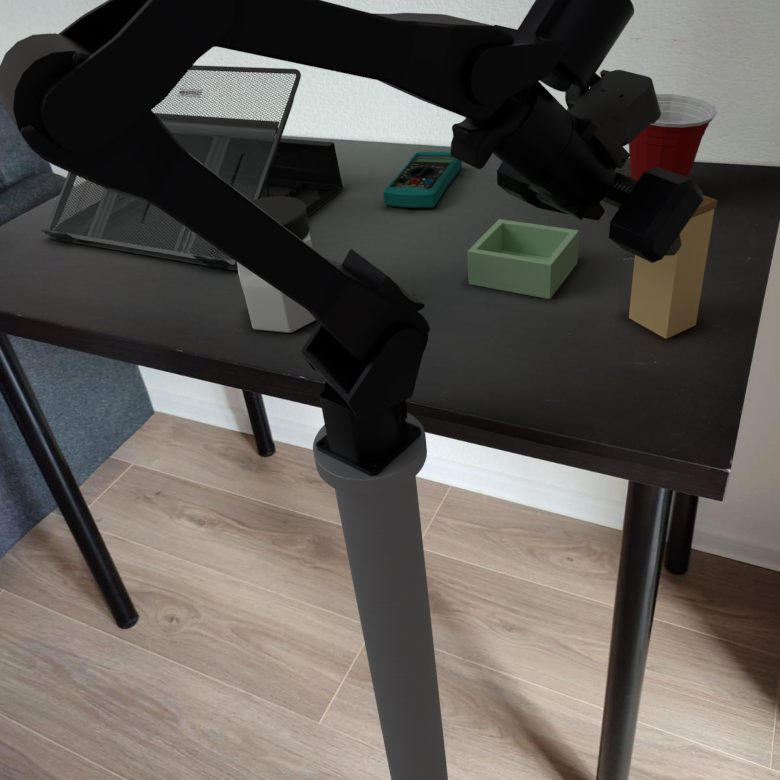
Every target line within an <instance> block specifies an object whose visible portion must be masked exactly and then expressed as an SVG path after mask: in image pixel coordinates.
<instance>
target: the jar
mask: <svg viewBox="0 0 780 780" xmlns="http://www.w3.org/2000/svg"><path fill="white" fill-rule="evenodd" d="M295 198H296V197H294V198H292V197H285V195H284V196H283V195H282V196H280V195H278V196H277V195H273V197H272V196H271V197H267V196H264V198H262V197H261V198H259V199H255V200H252V202H253V203H254V204H255V205H257V206H258V207H259V208H261V209H262V210H263V211H265V212H266V213H267V214H268V215H270V216H271V217H272V218H274V219H275V220H276V221H278V222H279V223H280V224H281V225H283V226H284V227H285V228H287V229H288V230H289V231H291V232H292V233H293V234H294V235H296V236H297V237H298V238H300V239H301V240H302V241H304V242H305V243H306V244H307V245H309V246H310V247H311V248H313V249H314V247H313V242H312V238H311V233H310V223H309V217H307V211H306V207H307V205H306V206H305V204H306V203H305V202H304V203H305V204H304V203H303V201H301V200H300V199H298V198H296V199H295ZM237 266H238V271H237V272H238V277H239V278H238V279H239V282H240V286H241V289H242V291H243V292H242V293H243V295H244V298H245V303H246V308H247V311H248V315H249V319H250V323H251V328H252V329H253V330H255V331H256V330H257V331H267V332H275V333H276V332H277V333H285V334H286V333H287V334H293V333H294V332H296V331H298V330H300V329H302V328H304V327H305V326H307V325H309V324H312V323H313V322H315V321H317V320H316V319H315V318H314V317H313V316H312V315H311V314H310V313H309V312H308V310H306V309H305V308H304V307H302V306H301V305H299V304H298V303H296V302H295V301H293V300H292V299H290V298H289V297H287V296H286V295H285V294H283V293H282V292H280V291H279V290H277V289H276V288H274V287H273V286H271V285H270V284H268V283H267V282H266V281H264V280H263V279H261V278H260V277H258V276H257V275H255V274H254V273H252V272H251V271H249V270H248V269H247V268H245V267H244V266H242V265H241V264H239V263H238V262H237Z"/></svg>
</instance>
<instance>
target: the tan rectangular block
mask: <svg viewBox="0 0 780 780" xmlns="http://www.w3.org/2000/svg"><path fill="white" fill-rule="evenodd" d="M717 205H718V200H717V199H716V198H713V197H710V196H707V195H705V194H703V202H702V203H701V204H700V206H699V207H698V209H697V210H696V212H695V213H694V214H693V216H692V217H691V219H690V220H689V222H688V223H687V224H686V226H685V227H684V229H683V230H682V232H681V233H680V238H681V243H682V245H681V247H680V249H679V250H678V251H677V253H676V254H675V255H674V256H664V257H663V259H662V260H659V261H656V262H653V263H651V262H649V261H647V260H645V259H643V258H641V257H639V256H637V255H635V254H634V262H633V272H632V279H631V280H632V281H631V291H630V301H629V312H628V319H630V320H632V321H633V322H635V323H636V324H639V325H641V326H642V327H644V328H645V329H648V330H649V331H651V332H653V333H655V334H656V335H658V336H660V337H661V338H664V339H665V340H667V339H670V338H671V337H674V336H676V335H678V334H680V333H682V332H685V331H687V330H688V329H691V328H693V327H695V326H696V325H697V322H698V321H697V320H698V314H699V308H700V302H701V295H702V291H703V284H704V279H705V273H706V272H705V271H706V265H707V260H708V259H707V258H708V252H709V245H710V240H711V233H712V228H713V221H714V215H715V210H716V209H717Z"/></svg>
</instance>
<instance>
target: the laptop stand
mask: <svg viewBox="0 0 780 780" xmlns="http://www.w3.org/2000/svg"><path fill="white" fill-rule="evenodd" d="M216 74H217V75H216ZM199 76H200V77H199ZM301 78H302V74H301V71H300V70H299V69H297V68H281V67H278V68H277V67H251V66H225V65H223V66H222V65H199V64H196V65H195V64H193V66H192V67H191V68H190V69H189V70H188V72H187V73H186V74H185V75H184V76H183V78H182V79H181V80H180V81H179V82H178V84H177V85H176V86H175V87H174V88H173V90H172V91H171V92H170V93H169V94H168V96H167V97H166V98H165V99H164V100H163V101H162V102H161V103H159V104H158V105H157V106H155V107H154V108H153V109H152V111H153V112H154V114H155V115H156V116H157V117H158V118H159V119H160V120H161V122H162V123H163V124H164V125H165V126H166V128H167V129H168V130H169V131H170V132H171V133H172V135H173V136H174V137H175V138H176V139H177V141H178V142H179V143H180V144H181V145H182V147H183V148H184V149H185V150H186V151H187V152H188V153H189V154H190V155H192V156H193V157H194V158H196V159H197V160H198V161H200V162H201V163H202V164H203V165H205V166H206V167H207V168H209V169H210V170H211V171H213V172H214V173H215V174H216V175H218V176H219V177H220V178H222V179H223V180H224V181H226V182H227V183H228V184H229V185H231V186H232V187H233V188H235V189H236V190H237V191H239V192H240V193H241V194H242V195H244V196H245V197H246V198H248V199H249V200H250V201H252V200H255V199H259V198H265V197H273V196H275V195H276V196H285V197H292V198H295V199H298V200H300V201H302V202H303V203H304V204H305V206H306V211H307V217H308V218H309V217H310V216H311V215H313V214H314V213H315V212H316V211H318V210H319V209H320V208H322V207H323V206H324V205H326V204H327V203H328V202H330V201H331V200H332V199H333V198H335V197H336V196H337V195H338V194H340V192H341V191H342V190H344V186H343V180H342V176H341V170H340V166H339V161H338V155H337V150H336V145H335V142H334V141H323V140H309V139H297V138H285V137H283V134H284V132H285V128H286V125H287V122H288V120H289V116H290V114H291V111H292V107H293V104H294V100H295V97H296V94H297V91H298V88H299V86H300V81H301ZM286 95H287V96H286ZM173 97H174V98H173ZM167 101H168V102H167ZM183 102H184V103H183ZM199 109H200V110H199ZM156 110H157V111H156ZM178 110H179V111H178ZM264 110H265V111H264ZM252 113H253V114H252ZM63 182H64V183H63V185H62V187H61V190H60V193H59V194H58V195H59V196H58V198H57V200H56V203H55V205H54V208H53V211H52V213H51V216H50V219H49V221H48V224H47V225H46V229H43V228H41V229H40V231H41V232H43V233H44V234H45V235H48V238H49V240H54V241H57V242H63V243H69V244H77V245H83V246H90V247H95V248H100V249H106V250H112V251H117V252H123V253H129V254H136V255H140V256H145V257H151V258H158V259H164V260H170V261H175V262H181V263H185V264H186V263H189V264H193V265H199V266H205V267H208V268H214V269H220V270H224V271H234V272H238V266H237V262H236V261H235V260H233V259H232V258H230V257H229V256H228V255H226V254H225V253H223V252H222V251H220V250H219V249H217V248H216V247H214V246H213V245H211V244H210V243H209V242H207V241H206V240H204V239H203V238H201V237H200V236H198V235H197V234H195V233H194V232H193V231H191V230H190V229H188V228H187V227H185V226H184V225H182V224H181V223H179V222H178V221H176V220H175V219H174V218H172V217H171V216H169V215H168V214H166V213H165V212H163V211H162V210H160V209H159V208H157V207H156V206H154V205H152V204H150V203H148V202H145V201H143V200H140V199H136V198H133V197H130V196H127V195H124V194H121V193H118V192H115V191H111V190H108V189H106V188H104V187H101V186H99V185H97V184H95V183H92V182H90V181H88V180H86V179H84V178H81V177H79V176H77V175H75V174H72V173H70V172H68V171H67V175H66V177H65V180H64V181H63ZM74 208H75V209H74ZM77 210H78V211H77Z"/></svg>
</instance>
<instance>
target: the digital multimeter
mask: <svg viewBox="0 0 780 780" xmlns="http://www.w3.org/2000/svg"><path fill="white" fill-rule="evenodd" d="M462 168H463V162H462V161H460V160H458V159H456V158H453V157H452V156H451V151H448V152H447V151H417V152H415V153H414V154H413V155H412V157H411V158H410V160H409V161H408V162H407V164H405V166H404V167H403V168H402V170H401V171H400V172H399V173H398V175H396V177H395V178H394V179H393V180H392V181H391V182H390V183H389V184H388V186H387V187H385V188H384V190H383V192H382V194H383V201H384V205H386V206H388V207H395V208H407V209H408V208H409V209H433V208H435V206H437V204H438V201H439V200H440V198H441V197H442V195H443V194H444V193H445V191H446V189H447V188H448V187H449V185H450V184H451V183H452V182H453V180H454V178H455V177H456V176H457V174H459V172H460V170H462Z"/></svg>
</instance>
